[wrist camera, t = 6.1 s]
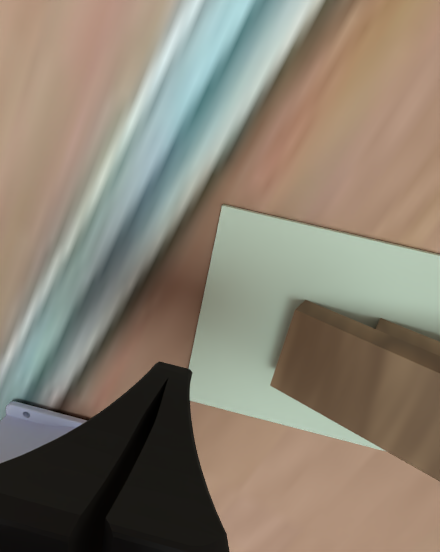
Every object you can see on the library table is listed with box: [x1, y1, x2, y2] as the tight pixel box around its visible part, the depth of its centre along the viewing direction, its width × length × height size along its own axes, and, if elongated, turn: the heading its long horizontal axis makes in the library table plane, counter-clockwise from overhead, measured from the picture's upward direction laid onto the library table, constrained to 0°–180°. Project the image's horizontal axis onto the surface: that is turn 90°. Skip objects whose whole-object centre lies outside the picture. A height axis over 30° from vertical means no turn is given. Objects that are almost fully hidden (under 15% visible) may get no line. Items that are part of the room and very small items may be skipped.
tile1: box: [270, 300, 440, 481], centre depth 16 cm, size 2×5×9 cm
